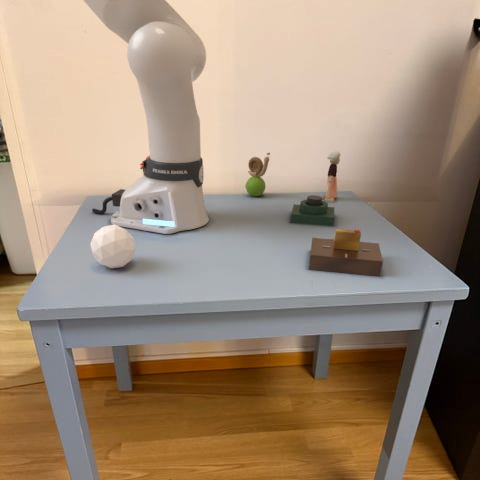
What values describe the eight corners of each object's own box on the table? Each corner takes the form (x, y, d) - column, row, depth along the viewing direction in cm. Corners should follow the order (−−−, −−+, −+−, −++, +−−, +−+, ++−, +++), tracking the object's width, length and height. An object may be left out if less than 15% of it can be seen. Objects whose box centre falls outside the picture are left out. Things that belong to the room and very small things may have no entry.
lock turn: (333, 248, 86) (336, 229, 84) (333, 246, 87) (336, 227, 85) (358, 251, 85) (361, 232, 83) (357, 248, 87) (361, 229, 85)
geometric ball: (107, 276, 86) (90, 238, 86) (146, 260, 86) (129, 221, 86) (95, 274, 79) (77, 231, 78) (138, 256, 79) (119, 213, 78)
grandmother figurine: (339, 203, 122) (345, 154, 116) (324, 202, 122) (330, 153, 116) (334, 195, 129) (340, 148, 122) (320, 194, 129) (326, 147, 122)
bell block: (290, 223, 107) (291, 206, 105) (293, 212, 114) (294, 197, 112) (333, 226, 106) (335, 209, 104) (333, 215, 113) (335, 200, 111)
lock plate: (308, 269, 85) (310, 253, 83) (310, 251, 93) (312, 236, 91) (379, 276, 83) (383, 260, 81) (376, 257, 91) (378, 242, 89)
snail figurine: (261, 200, 122) (264, 154, 116) (241, 196, 125) (243, 151, 119) (271, 196, 126) (274, 151, 120) (251, 192, 129) (253, 148, 123)
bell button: (306, 206, 107) (306, 198, 106) (306, 202, 110) (307, 194, 109) (321, 207, 106) (322, 200, 105) (321, 203, 109) (322, 195, 108)
